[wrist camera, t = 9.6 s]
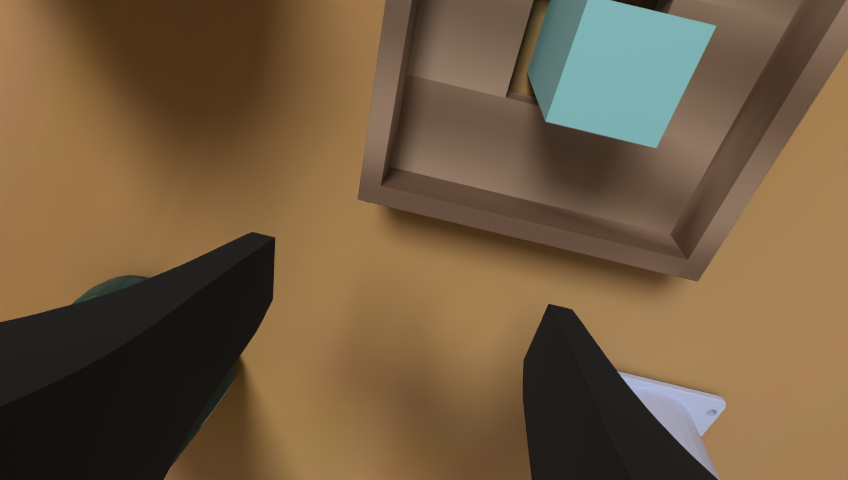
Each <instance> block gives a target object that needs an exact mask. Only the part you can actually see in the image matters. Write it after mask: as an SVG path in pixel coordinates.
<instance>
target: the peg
mask: <svg viewBox="0 0 848 480" xmlns="http://www.w3.org/2000/svg"><path fill="white" fill-rule="evenodd" d="M715 28H716V26H715V25H711V24H707V23H703V22H699V21H695V20H691V19H686V18H682V17H678V16H674V15H670V14H666V13H661V12H657V11H653V10H649V9H645V8H641V7H636V6H632V5H628V4H624V3H620V2H616V1H611V0H550V1H549V4H548V7H547V10H546V14H545V17H544V20H543V23H542V26H541V30H540V33H539V36H538V39H537V43H536V46H535V49H534V52H533V56H532V59H531V62H530V65H529V68H528V72H527V74H528V77H529V80H530V82H531V85H532V87H533V90H534V93H535V95H536V98H537V101H538V103H539V106H540V108H541V111H542V114H543V116H544V119H545V122H550V123H554V124H558V125H562V126H566V127H570V128H574V129H579V130H583V131H587V132H591V133H595V134H599V135H603V136H607V137H612V138H616V139H620V140H624V141H628V142H632V143H636V144H641V145H645V146H649V147H653V148H657V146H658V144H659V142H660V140H661V138H662V136H663V134H664V132H665V130H666V128H667V126H668V124H669V122H670V119H671V117H672V115H673V113H674V111H675V109H676V107H677V105H678V103H679V101H680V99H681V97H682V95H683V93H684V91H685V89H686V87H687V85H688V83H689V81H690V79H691V77H692V75H693V73H694V71H695V69H696V67H697V65H698V63H699V60H700V58H701V56H702V54H703V52H704V50H705V48H706V46H707V44H708V42H709V40H710V38H711V36H712V34H713V32H714V30H715Z"/></svg>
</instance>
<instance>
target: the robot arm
mask: <svg viewBox="0 0 848 480" xmlns="http://www.w3.org/2000/svg"><path fill="white" fill-rule="evenodd" d="M274 255H275V237H271V236H266V235H262V234H258V233H254V232H251V233H249V234H246V235H244V236H242V237H240V238H238V239H236V240H233V241H231V242H229V243H227V244H225V245H223V246H221V247H219V248H217V249H215V250H213V251H211V252H209V253H206V254H204V255H202V256H200V257H198V258H196V259H194V260H192V261H189V262H187V263H185V264H183V265H181V266H178V267H176V268H173V269H171V270H169V271H166V272H164V273H161V274H159V275H157V276H154V277H152V278H150V279H147V280H145V281H142V282H140V283H137V284H134V285H132V286H129V287H126V288H123V289H121V290H118V291H115V292H112V293H109V294H105V295H102V296H99V297H96V298H93V299H90V300H87V301H83V302H80V303H76V304H72V305H68V306H65V307H61V308H57V309H53V310H50V311H46V312H42V313H39V314H35V315H31V316H26V317H22V318H17V319H13V320H8V321H4V322H0V480H164V478H165V476H166V474H167V472H168V470H169V468H170V467H171V465H172V463H173V461H174V459H175V457H176V455H177V453H178V452H179V450H180V448H181V446H182V444H183V443H184V441H185V439H186V437H187V435H188V434H189V432H190V430H191V428H192V427H193V425H194V423H195V421H196V419H197V418H198V416H199V414H200V413H201V411H202V410H203V408H204V407H205V405H206V404H207V402H208V400H209V399H210V398H211V396H212V395H213V393H214V392H215V390H216V389H217V388H218V386H219V385H220V383H221V382H222V380H223V379H224V378H225V376H226V375H227V373H228V372H229V370H230V369H231V368H232V366H233V365H234V363H235V362H236V360H237V359H238V358H239V356H240V355H241V353H242V352H243V350H244V349H245V347H246V346H247V345H248V343H249V342H250V340H251V339H252V337H253V336H254V334H255V333H256V331H257V329H258V328H259V326H260V324H261V322H262V320H263V318H264V316H265V314H266V312H267V310H268V308H269V306H270V304H271V302H272V300H273V282H274ZM523 404H524V413H525V423H526V432H527V441H528V449H529V458H530V467H531V476H532V480H720V479H719V476H718V474H717V472H716V470H715V468H714V465H713V463H712V461H711V459H710V457H709V454H708V452H707V450H706V448H705V446H704V443H703V441H702V439H701V436H702V435H703V434H704V433H705V432H706V430H707V429H708V428H709V427H710V426H711V424H712V423H713V422H714V421H715V420H716V418H717V417H718V416H719V415H720V414H721V412H722V411H723V410H724V409H725V407H726V403H725V401H724V399H723V398H722V397H720V396H718V395H713V394H709V393H705V392H701V391H697V390H693V389H689V388H685V387H681V386H676V385H672V384H668V383H664V382H660V381H656V380H652V379H648V378H643V377H639V376H635V375H631V374H627V373H623V372H619V371H617V370H616V369H615V368H614V366H613V365H612V364H611V362H610V361H609V360H608V358H607V357H606V356H605V354H604V353H603V351H602V350H601V349H600V347H599V346H598V345H597V343H596V342H595V340H594V339H593V338H592V336H591V335H590V333H589V332H588V331H587V329H586V328H585V326H584V325H583V323H582V322H581V321H580V319H579V318H578V317H577V315H576V314H575V313H574V311H573V310H572V309H568V308H564V307H560V306H556V305H551V304H548V307H547V309H546V311H545V313H544V316H543V318H542V320H541V322H540V325H539V327H538V329H537V331H536V334H535V336H534V338H533V340H532V343H531V345H530V347H529V349H528V352H527V354H526V356H525V358H524V365H523Z"/></svg>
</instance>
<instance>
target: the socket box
mask: <svg viewBox="0 0 848 480" xmlns="http://www.w3.org/2000/svg"><path fill="white" fill-rule="evenodd" d="M533 1H534V0H386V2H385V10H384V17H383V24H382V31H381V38H380V45H379V52H378V59H377V66H376V73H375V80H374V87H373V94H372V102H371V109H370V116H369V123H368V130H367V137H366V144H365V151H364V158H363V165H362V172H361V179H360V186H359V194H358V200H362V201H366V202H370V203H374V204H379V205H383V206H387V207H391V208H395V209H399V210H403V211H408V212H412V213H416V214H420V215H424V216H428V217H432V218H437V219H441V220H445V221H449V222H453V223H457V224H461V225H466V226H470V227H474V228H478V229H482V230H486V231H490V232H495V233H499V234H503V235H507V236H511V237H515V238H519V239H524V240H528V241H532V242H536V243H540V244H544V245H548V246H553V247H557V248H561V249H565V250H569V251H573V252H577V253H582V254H586V255H590V256H594V257H598V258H602V259H606V260H611V261H615V262H619V263H623V264H627V265H631V266H635V267H640V268H644V269H648V270H652V271H656V272H660V273H664V274H669V275H673V276H677V277H681V278H685V279H689V280H693V281H698V280H699V279H700V277H701V276H702V274H703V273H704V271H705V269H706V268H707V266H708V265H709V263H710V262H711V260H712V259H713V257H714V255H715V254H716V252H717V251H718V249H719V248H720V246H721V245H722V243H723V241H724V240H725V238H726V237H727V235H728V234H729V232H730V230H731V229H732V227H733V226H734V224H735V223H736V221H737V220H738V218H739V216H740V215H741V213H742V212H743V210H744V209H745V207H746V206H747V204H748V202H749V201H750V199H751V198H752V196H753V195H754V193H755V192H756V190H757V188H758V187H759V185H760V184H761V182H762V181H763V179H764V178H765V176H766V174H767V173H768V171H769V170H770V168H771V167H772V165H773V164H774V162H775V160H776V159H777V157H778V156H779V154H780V153H781V151H782V150H783V148H784V146H785V145H786V143H787V142H788V140H789V139H790V137H791V136H792V134H793V132H794V131H795V129H796V128H797V126H798V125H799V123H800V122H801V120H802V118H803V117H804V115H805V114H806V112H807V111H808V109H809V108H810V106H811V104H812V103H813V101H814V100H815V98H816V97H817V95H818V93H819V92H820V90H821V89H822V87H823V86H824V84H825V83H826V81H827V79H828V78H829V76H830V75H831V73H832V72H833V70H834V69H835V67H836V65H837V64H838V62H839V61H840V59H841V58H842V56H843V55H844V53H845V51H846V50H847V48H848V0H658V2H657V5H656V7H655V9H654V11H657V12H661V13H666V14H670V15H674V16H678V17H682V18H686V19H691V20H695V21H699V22H703V23H707V24H711V25H715V26H716V28H715V30H714V32H713V34H712V36H711V38H710V40H709V42H708V44H707V46H706V48H705V50H704V52H703V54H702V56H701V58H700V60H699V63H698V65H697V67H696V69H695V71H694V73H693V75H692V77H691V79H690V81H689V83H688V85H687V87H686V89H685V91H684V93H683V95H682V97H681V99H680V101H679V103H678V105H677V107H676V109H675V111H674V113H673V115H672V117H671V119H670V122H669V124H668V126H667V128H666V130H665V132H664V134H663V136H662V138H661V140H660V142H659V144H658V146H657V148H653V147H649V146H645V145H641V144H636V143H632V142H628V141H624V140H620V139H616V138H612V137H607V136H603V135H599V134H595V133H591V132H587V131H583V130H579V129H574V128H570V127H566V126H562V125H558V124H554V123H550V122H545V119H544V116H543V114H542V111H541V108H540V106H539V103H538V101H537V98H536V97H534V96H530V95H526V94H522V93H518V92H513V91H509V90H508V87H509V83H510V80H511V76H512V73H513V69H514V66H515V63H516V59H517V56H518V52H519V49H520V45H521V42H522V39H523V35H524V32H525V28H526V25H527V21H528V18H529V15H530V11H531V8H532V4H533Z"/></svg>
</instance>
